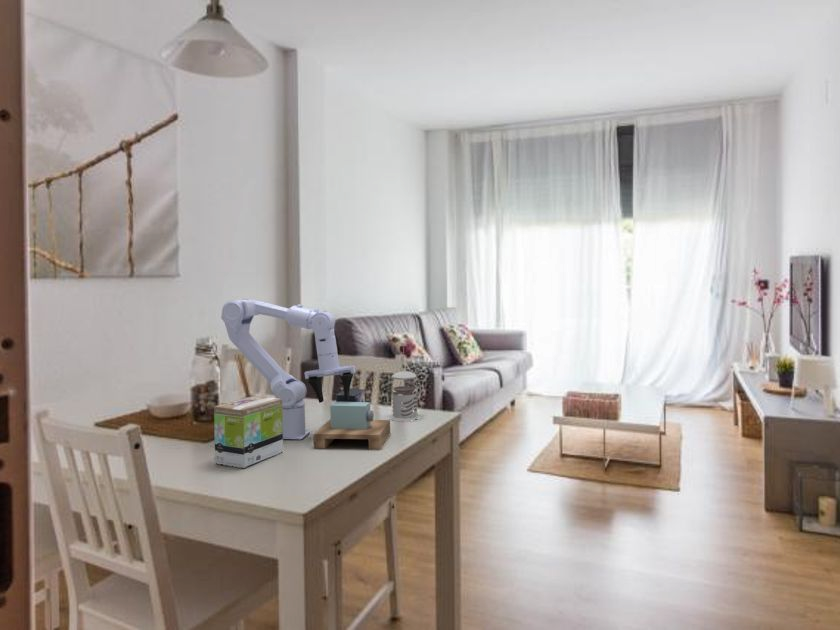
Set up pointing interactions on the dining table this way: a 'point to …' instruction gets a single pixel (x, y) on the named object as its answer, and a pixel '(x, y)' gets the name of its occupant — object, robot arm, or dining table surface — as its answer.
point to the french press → (404, 396)
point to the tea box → (248, 431)
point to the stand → (353, 434)
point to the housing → (351, 415)
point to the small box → (352, 396)
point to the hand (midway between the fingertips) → (334, 400)
